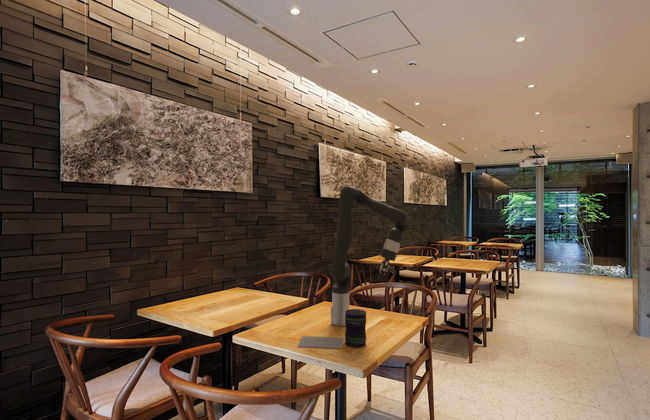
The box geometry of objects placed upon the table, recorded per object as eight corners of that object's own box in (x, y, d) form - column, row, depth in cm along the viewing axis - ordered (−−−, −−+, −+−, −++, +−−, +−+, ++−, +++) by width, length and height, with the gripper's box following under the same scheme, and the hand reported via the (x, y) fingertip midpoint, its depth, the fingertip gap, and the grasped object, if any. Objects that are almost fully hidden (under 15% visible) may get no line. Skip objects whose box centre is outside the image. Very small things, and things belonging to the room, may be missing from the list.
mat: (297, 347, 167) (297, 346, 167) (302, 336, 181) (302, 336, 181) (341, 348, 165) (341, 348, 165) (343, 338, 179) (343, 337, 179)
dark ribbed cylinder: (342, 341, 175) (342, 309, 175) (361, 339, 178) (362, 308, 178) (348, 348, 166) (348, 315, 166) (369, 347, 168) (369, 314, 168)
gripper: (382, 247, 191) (372, 276, 190) (383, 247, 177) (372, 279, 176) (396, 252, 190) (386, 282, 189) (398, 252, 176) (387, 285, 175)
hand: (379, 280), depth 183 cm, fingers open, 8 cm apart
